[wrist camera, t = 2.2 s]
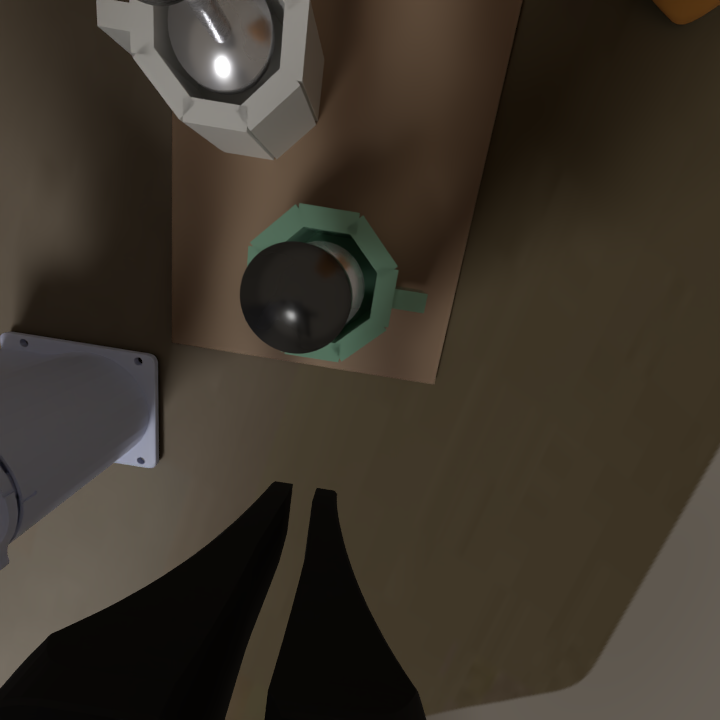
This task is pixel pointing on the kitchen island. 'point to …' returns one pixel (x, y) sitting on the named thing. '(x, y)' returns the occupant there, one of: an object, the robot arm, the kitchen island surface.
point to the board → (356, 172)
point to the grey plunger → (221, 41)
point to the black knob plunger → (301, 294)
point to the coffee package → (685, 9)
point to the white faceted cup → (240, 111)
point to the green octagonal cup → (372, 259)
